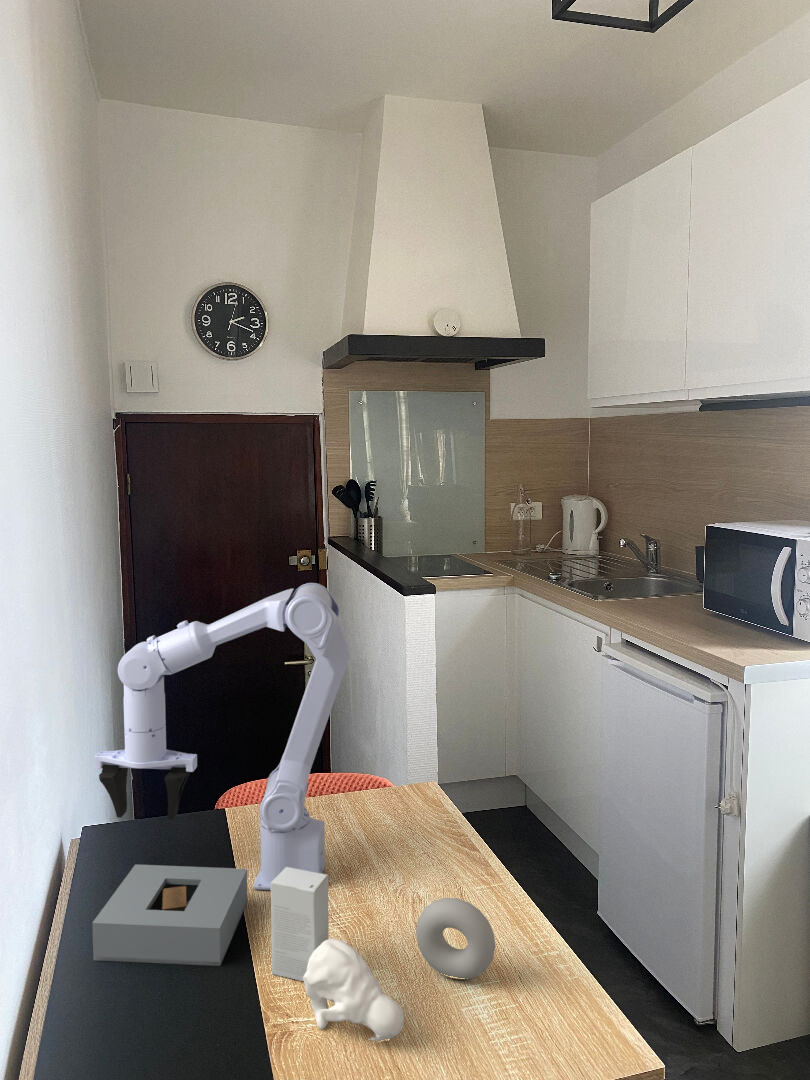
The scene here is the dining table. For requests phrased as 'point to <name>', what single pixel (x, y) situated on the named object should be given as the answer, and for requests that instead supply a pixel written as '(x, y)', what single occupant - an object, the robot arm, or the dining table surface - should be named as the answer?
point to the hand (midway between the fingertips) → (147, 815)
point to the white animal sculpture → (349, 991)
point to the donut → (469, 924)
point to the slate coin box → (171, 916)
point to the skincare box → (297, 920)
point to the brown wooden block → (174, 899)
